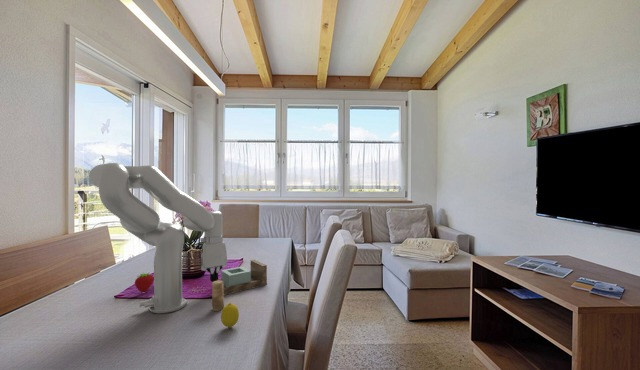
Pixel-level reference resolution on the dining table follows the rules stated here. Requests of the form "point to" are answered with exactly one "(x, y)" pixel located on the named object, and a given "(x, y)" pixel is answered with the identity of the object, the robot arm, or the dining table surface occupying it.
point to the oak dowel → (217, 296)
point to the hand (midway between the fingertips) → (214, 281)
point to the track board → (256, 278)
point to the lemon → (229, 315)
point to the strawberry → (144, 282)
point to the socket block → (235, 276)
